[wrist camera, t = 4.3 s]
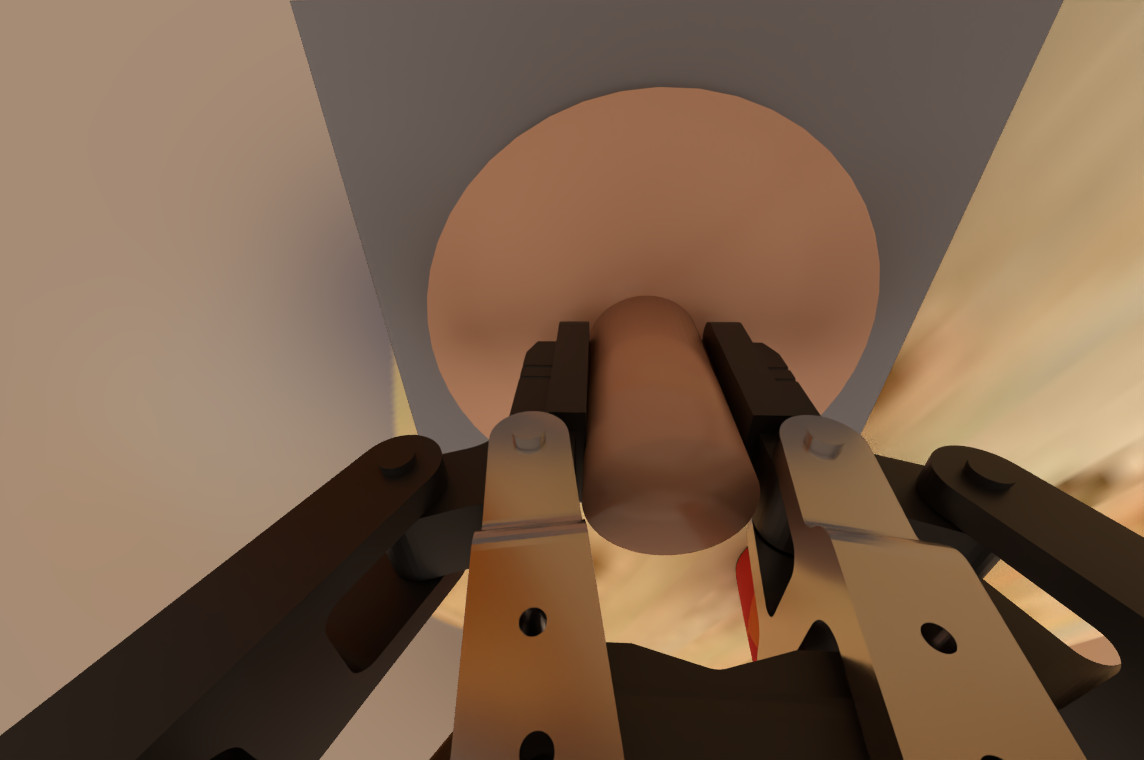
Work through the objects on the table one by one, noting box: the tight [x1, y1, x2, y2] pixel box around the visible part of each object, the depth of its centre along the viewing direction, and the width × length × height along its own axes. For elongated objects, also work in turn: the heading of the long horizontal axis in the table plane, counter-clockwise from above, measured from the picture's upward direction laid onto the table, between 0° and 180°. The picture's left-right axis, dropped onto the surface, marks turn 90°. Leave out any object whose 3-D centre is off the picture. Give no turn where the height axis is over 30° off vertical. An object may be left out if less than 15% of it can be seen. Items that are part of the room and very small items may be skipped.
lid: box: [427, 87, 880, 555], centre depth 9 cm, size 11×11×6 cm
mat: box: [290, 0, 1063, 503], centre depth 12 cm, size 14×14×1 cm
